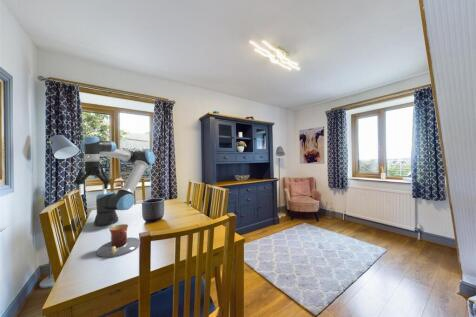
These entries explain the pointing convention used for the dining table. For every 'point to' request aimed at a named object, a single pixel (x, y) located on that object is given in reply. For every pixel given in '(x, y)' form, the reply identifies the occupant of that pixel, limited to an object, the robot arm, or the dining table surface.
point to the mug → (119, 235)
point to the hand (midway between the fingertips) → (93, 194)
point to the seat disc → (110, 251)
